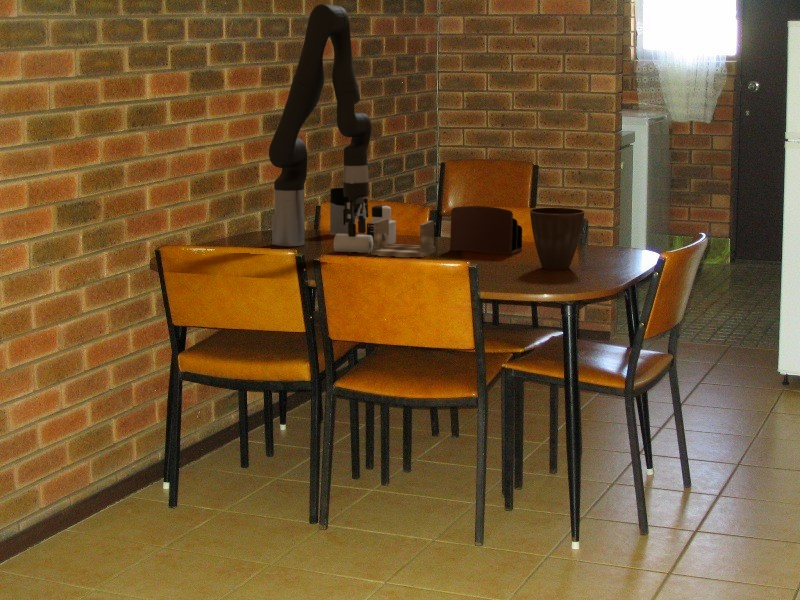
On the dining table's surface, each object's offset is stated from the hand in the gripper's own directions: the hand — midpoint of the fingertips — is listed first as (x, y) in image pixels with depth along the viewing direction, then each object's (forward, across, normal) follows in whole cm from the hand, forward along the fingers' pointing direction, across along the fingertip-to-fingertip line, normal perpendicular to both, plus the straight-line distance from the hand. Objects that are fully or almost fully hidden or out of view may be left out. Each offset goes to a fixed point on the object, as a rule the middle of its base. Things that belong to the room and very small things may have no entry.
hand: (357, 234), depth 362 cm
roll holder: (+5, -1, +14) cm, 15 cm away
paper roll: (+2, +2, -1) cm, 3 cm away
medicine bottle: (+5, -18, +1) cm, 19 cm away
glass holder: (+5, -34, -16) cm, 38 cm away
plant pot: (+7, +11, +62) cm, 63 cm away
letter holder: (+6, -15, +36) cm, 39 cm away
